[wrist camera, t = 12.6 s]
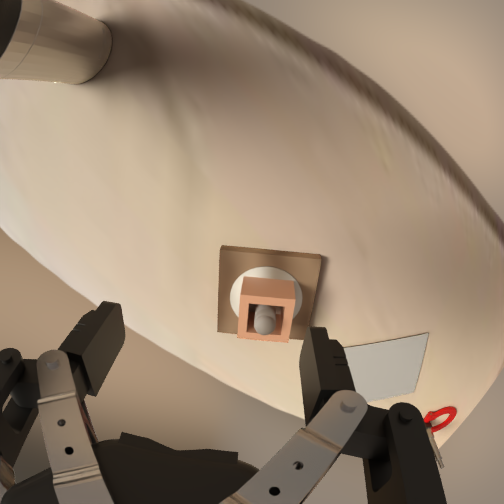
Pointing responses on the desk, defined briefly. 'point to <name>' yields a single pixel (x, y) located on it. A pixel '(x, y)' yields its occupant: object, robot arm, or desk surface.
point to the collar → (266, 294)
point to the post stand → (273, 267)
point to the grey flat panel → (386, 367)
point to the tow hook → (438, 428)
